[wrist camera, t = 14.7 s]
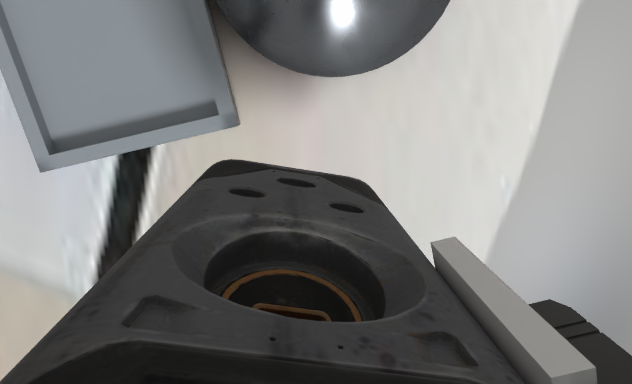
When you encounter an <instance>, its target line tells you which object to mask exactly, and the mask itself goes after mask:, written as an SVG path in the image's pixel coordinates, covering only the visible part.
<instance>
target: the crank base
mask: <svg viewBox="0 0 632 384" xmlns="http://www.w3.org/2000/svg"><path fill="white" fill-rule="evenodd" d="M215 1H216V3H217V5H218V6H219V8H220V10H221V11H222V13H223V14H224V16H225V18H226V19H227V21H228V22H229V23H230V24H231V26H232V27H233V28H234V29H235V31H236V32H237V33H238V34H239V35H240V36H241V37H242V38H243V39H244V40H245V41H246V42H247V43H248V44H249V45H250V46H251V47H253V48H254V49H255V50H257V51H258V52H259V53H261V54H262V55H263V56H265V57H266V58H268V59H269V60H271V61H273V62H275V63H277V64H278V65H280V66H282V67H285V68H288V69H290V70H293V71H295V72H299V73H303V74H307V75H311V76H320V77H344V76H350V75H356V74H362V73H365V72H368V71H371V70H374V69H377V68H380V67H382V66H384V65H386V64H388V63H390V62H392V61H394V60H396V59H397V58H399V57H400V56H402V55H404V54H405V53H407V52H408V51H409V50H410V49H411V48H413V47H414V46H415V45H416V44H418V43H419V42H420V41H421V40H422V39H423V38H424V37H425V36H426V34H427V33H428V32H429V31H430V30H431V29H432V28H433V26H434V25H435V24H436V22H437V21H438V20H439V18H440V17H441V16H442V14H443V12H444V10H445V9H446V7H447V5H448V3H449V2H450V0H215Z"/></svg>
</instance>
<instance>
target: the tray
mask: <svg viewBox="0 0 632 384" xmlns="http://www.w3.org/2000/svg"><path fill="white" fill-rule="evenodd" d="M0 69H1V72H2V75H3V77H4V80H5V82H6V85H7V88H8V90H9V93H10V95H11V98H12V100H13V103H14V106H15V108H16V111H17V113H18V116H19V119H20V121H21V124H22V126H23V129H24V132H25V134H26V137H27V139H28V142H29V144H30V147H31V150H32V152H33V155H34V157H35V160H36V163H37V165H38V168H39V170H40V173H41V172H45V171H49V170H54V169H58V168H62V167H66V166H71V165H75V164H79V163H83V162H88V161H92V160H96V159H100V158H104V157H109V156H113V155H117V154H121V153H126V152H130V151H134V150H138V149H143V148H147V147H151V146H155V145H160V144H164V143H168V142H172V141H176V140H181V139H185V138H189V137H193V136H198V135H202V134H206V133H210V132H215V131H219V130H223V129H227V128H231V127H236V126H238V125H240V121H239V117H238V113H237V110H236V106H235V102H234V99H233V95H232V91H231V87H230V84H229V80H228V76H227V73H226V69H225V65H224V61H223V58H222V54H221V50H220V47H219V43H218V39H217V35H216V32H215V28H214V24H213V21H212V17H211V13H210V9H209V6H208V2H207V0H0Z"/></svg>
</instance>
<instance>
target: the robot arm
mask: <svg viewBox="0 0 632 384" xmlns="http://www.w3.org/2000/svg"><path fill="white" fill-rule="evenodd" d="M431 247H432V252H433V258H434V264H435V269H436V270H437V272H438V273H439V274H440V275H441V277H442V278H443V279H444V280H445V282H446V283H447V284H448V286H449V287H450V288H451V289H452V291H453V292H454V293H455V294H456V296H457V297H458V298H459V299H460V301H461V302H462V303H463V305H464V306H465V307H466V308H467V310H468V311H469V312H470V313H471V315H472V316H473V317H474V318H475V320H476V321H477V322H478V323H479V325H480V326H481V327H482V329H483V330H484V331H485V332H486V334H487V335H488V336H489V337H490V339H491V340H492V341H493V342H494V344H495V345H496V346H497V348H498V349H499V350H500V351H501V353H502V354H503V355H504V356H505V358H506V359H507V360H508V361H509V363H510V364H511V365H512V367H513V368H514V369H515V370H516V372H517V373H518V374H519V375H520V377H521V378H522V379H523V380H524V382H525V383H526V384H632V356H631V355H630V354H629V353H627V352H626V351H625V350H624V349H622V348H621V347H620V346H619V345H617V344H616V343H615V342H614V341H612V340H611V339H610V338H609V337H607V336H606V335H605V334H603V333H600V332H599V330H598V329H597V328H596V327H595V326H593V325H592V324H591V323H590V322H588V323H587V321H586V319H584V318H583V317H582V316H581V315H580V314H578V313H577V312H576V311H574V310H573V309H572V308H571V307H568V306H565V305H562V304H560V303H558V302H555V301H553V300H550V299H549V300H545V301H541V302H537V303H533V304H529V305H528V304H527V303H526V302H525V301H524V300H522V299H521V298H520V297H519V296H518V295H517V294H516V293H515V292H514V291H513V290H512V289H511V288H510V287H509V286H507V285H506V284H505V283H504V282H503V281H502V280H501V279H500V278H499V277H498V276H497V275H496V274H494V273H493V272H492V271H491V270H490V269H489V268H488V267H487V266H486V265H485V264H484V263H483V262H482V261H480V260H479V259H478V258H477V257H476V256H475V255H474V254H473V253H472V252H471V251H470V250H469V249H468V248H466V247H465V246H464V245H463V244H462V243H461V242H460V241H459V240H458V239H457V238H456V237H451V238H447V239H443V240H439V241H434V242H431Z"/></svg>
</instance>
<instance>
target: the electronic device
mask: <svg viewBox="0 0 632 384" xmlns="http://www.w3.org/2000/svg"><path fill="white" fill-rule="evenodd" d="M0 384H526V383H525V382H524V380H523V379H522V378H521V377H520V375H519V374H518V373H517V372H516V370H515V369H514V368H513V367H512V365H511V364H510V363H509V361H508V360H507V359H506V358H505V356H504V355H503V354H502V353H501V351H500V350H499V349H498V348H497V346H496V345H495V344H494V342H493V341H492V340H491V339H490V337H489V336H488V335H487V334H486V332H485V331H484V330H483V329H482V327H481V326H480V325H479V323H478V322H477V321H476V320H475V318H474V317H473V316H472V315H471V313H470V312H469V311H468V310H467V308H466V307H465V306H464V305H463V303H462V302H461V301H460V299H459V298H458V297H457V296H456V294H455V293H454V292H453V291H452V289H451V288H450V287H449V286H448V284H447V283H446V282H445V280H444V279H443V278H442V277H441V275H440V274H439V273H438V272H437V270H436V269H435V268H434V267H433V265H432V264H431V263H430V261H429V260H428V259H427V258H426V256H425V255H424V254H423V253H422V251H421V250H420V249H419V248H418V246H417V245H416V244H415V242H414V241H413V240H412V239H411V237H410V236H409V235H408V234H407V232H406V231H405V230H404V229H403V227H402V226H401V225H400V224H399V222H398V221H397V220H396V218H395V217H394V216H393V215H392V213H391V212H390V211H389V210H388V208H387V207H386V206H385V205H384V203H383V202H382V201H381V200H380V198H379V197H378V196H377V194H376V193H375V192H374V191H373V190H372V188H371V187H370V186H369V185H367V184H366V183H365V182H363V181H361V180H359V179H355V178H351V177H347V176H341V175H334V174H328V173H322V172H315V171H309V170H302V169H296V168H290V167H283V166H277V165H270V164H264V163H258V162H251V161H245V160H233V159H230V160H223V161H220V162H217V163H215V164H214V165H212V166H211V167H210V168H208V169H207V170H206V171H205V172H204V174H203V175H202V176H201V177H200V178H199V179H198V180H197V181H196V182H195V183H194V184H193V185H192V186H191V187H190V188H189V189H188V190H187V191H186V192H185V193H184V194H183V195H182V196H181V197H180V198H179V199H178V200H177V201H176V202H175V203H174V204H173V205H172V206H171V207H170V208H169V209H168V210H167V211H166V212H165V213H164V214H163V215H162V216H161V217H160V219H159V220H158V221H157V222H156V223H155V224H154V225H153V226H152V227H151V228H150V229H149V230H148V231H147V232H146V233H145V234H144V235H143V236H142V237H141V238H140V239H139V240H138V241H137V242H136V243H135V244H134V245H133V246H132V247H131V248H130V249H129V250H128V251H127V252H126V253H125V254H124V255H123V256H122V257H121V258H120V259H119V260H118V262H117V263H116V264H115V265H114V266H113V267H112V268H111V269H110V270H109V271H108V272H107V273H106V274H105V275H104V276H103V277H102V278H101V279H100V280H99V281H98V282H97V283H96V284H95V285H94V286H93V287H92V288H91V289H90V290H89V291H88V292H87V293H86V294H85V295H84V296H83V297H82V298H81V299H80V300H79V301H78V302H77V304H76V305H75V306H74V307H73V308H72V309H71V310H70V311H69V312H68V313H67V314H66V315H65V316H64V317H63V318H62V319H61V320H60V321H59V322H58V323H57V324H56V325H55V326H54V327H53V328H52V329H51V330H50V331H49V332H48V333H47V334H46V335H45V336H44V337H43V338H42V339H41V340H40V341H39V342H38V343H37V344H36V346H35V347H34V348H33V349H32V350H31V351H30V352H29V353H28V354H27V355H26V356H25V357H24V358H23V359H22V360H21V361H20V362H19V363H18V364H17V365H16V366H15V367H14V368H13V369H12V370H11V371H10V372H9V373H8V374H7V375H6V376H5V377H4V378H3V379H2V380H1V381H0Z"/></svg>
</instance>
